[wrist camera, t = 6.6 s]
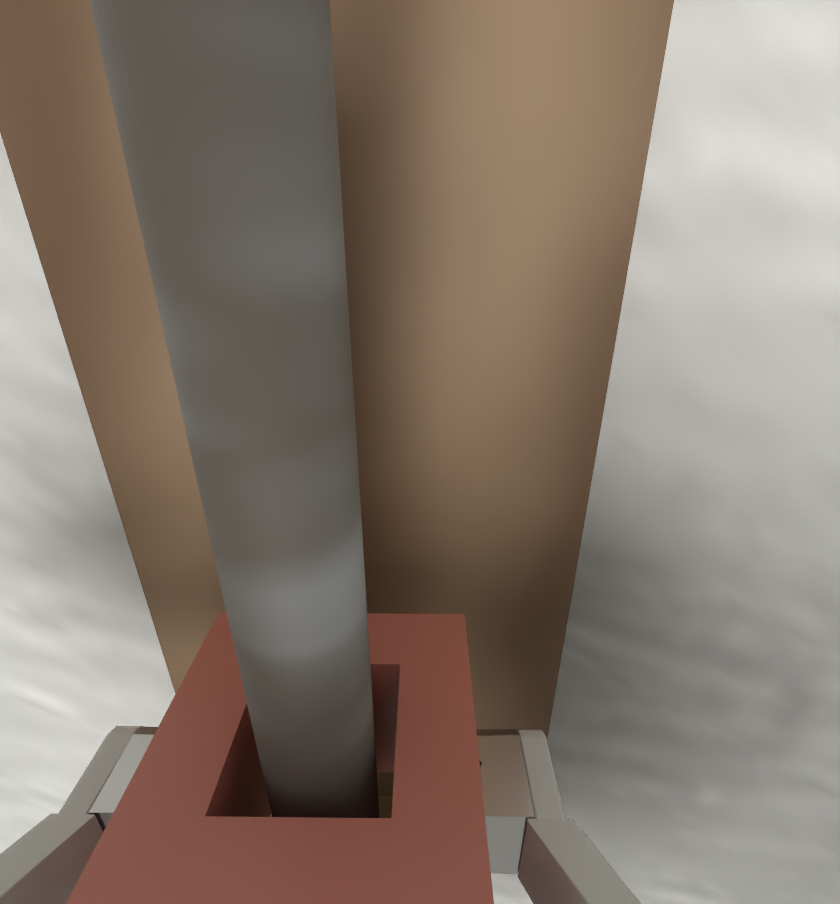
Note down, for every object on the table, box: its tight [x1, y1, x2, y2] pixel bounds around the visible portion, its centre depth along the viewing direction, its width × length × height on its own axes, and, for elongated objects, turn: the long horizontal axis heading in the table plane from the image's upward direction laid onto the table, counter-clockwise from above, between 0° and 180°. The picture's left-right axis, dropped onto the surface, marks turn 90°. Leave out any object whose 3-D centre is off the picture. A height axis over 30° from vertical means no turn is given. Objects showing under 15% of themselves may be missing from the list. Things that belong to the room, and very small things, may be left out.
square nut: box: [66, 612, 494, 904], centre depth 9 cm, size 6×4×6 cm, turn 90°
